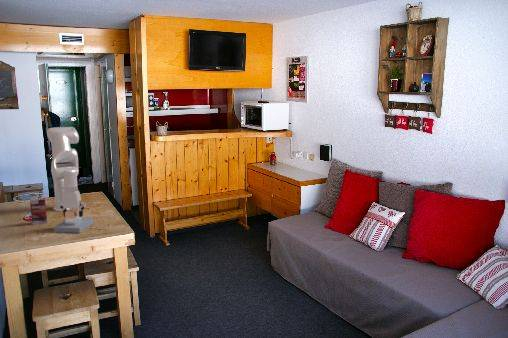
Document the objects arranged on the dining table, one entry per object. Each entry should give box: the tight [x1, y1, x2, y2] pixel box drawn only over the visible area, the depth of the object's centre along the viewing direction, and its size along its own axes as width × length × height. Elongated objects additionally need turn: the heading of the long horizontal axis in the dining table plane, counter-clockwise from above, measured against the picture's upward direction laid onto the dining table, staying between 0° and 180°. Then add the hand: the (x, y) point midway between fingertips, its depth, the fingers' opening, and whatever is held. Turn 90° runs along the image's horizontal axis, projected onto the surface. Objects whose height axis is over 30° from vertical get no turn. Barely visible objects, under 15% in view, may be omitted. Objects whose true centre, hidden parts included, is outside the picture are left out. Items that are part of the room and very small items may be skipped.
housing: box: [64, 208, 82, 225], centre depth 268 cm, size 6×8×8 cm
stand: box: [53, 217, 94, 234], centre depth 269 cm, size 18×16×3 cm
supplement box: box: [29, 197, 48, 226], centre depth 275 cm, size 9×5×16 cm, turn 117°
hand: (73, 216), depth 268 cm, fingers open, 9 cm apart
